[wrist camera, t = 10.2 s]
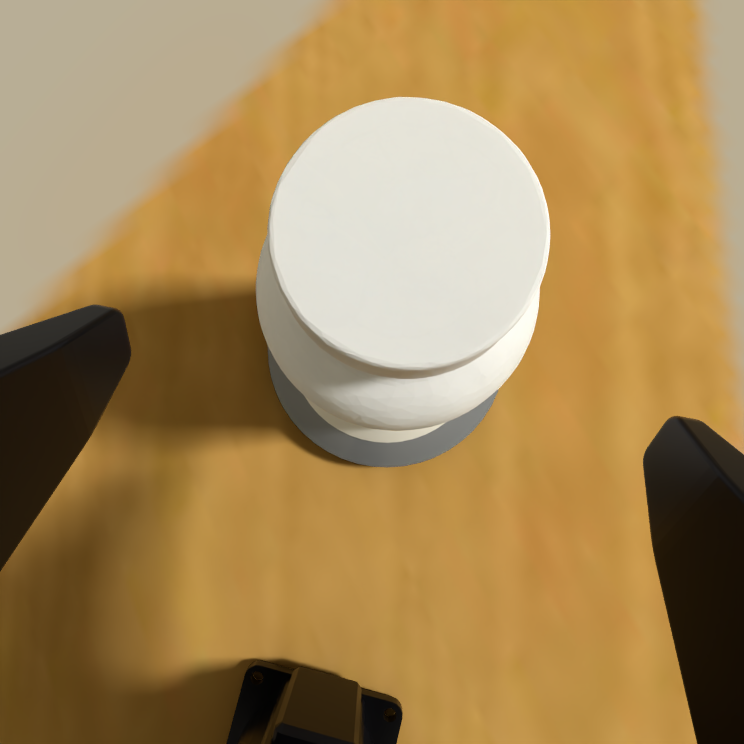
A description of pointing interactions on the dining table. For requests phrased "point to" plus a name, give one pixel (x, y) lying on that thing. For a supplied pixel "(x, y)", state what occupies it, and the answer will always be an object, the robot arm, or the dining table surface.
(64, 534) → the dining table surface
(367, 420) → the supplement bottle
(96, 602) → the dining table surface
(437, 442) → the push button
